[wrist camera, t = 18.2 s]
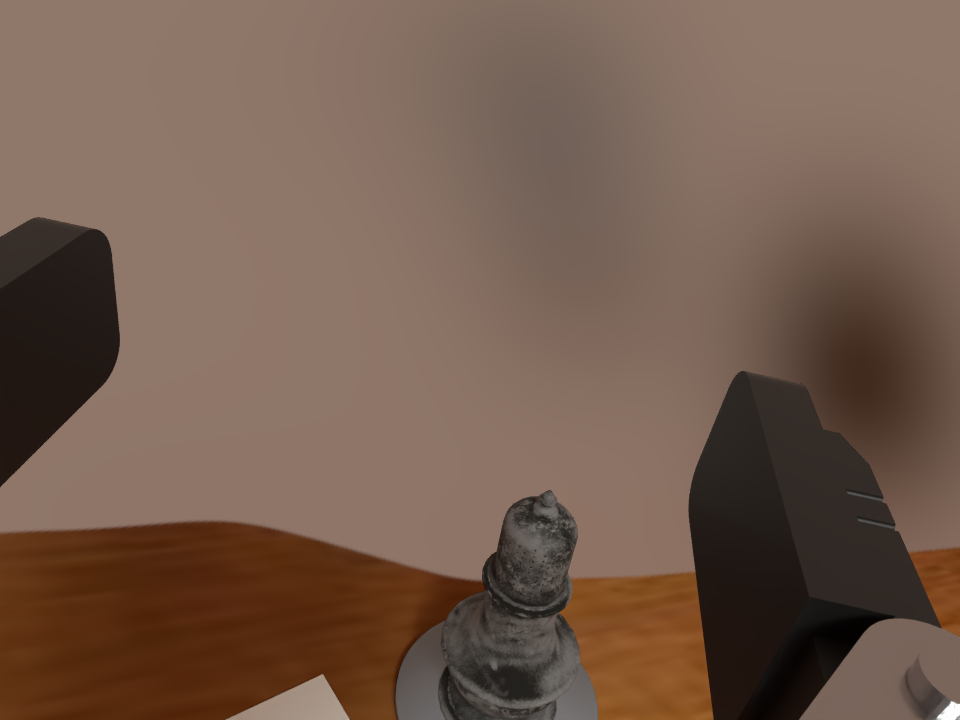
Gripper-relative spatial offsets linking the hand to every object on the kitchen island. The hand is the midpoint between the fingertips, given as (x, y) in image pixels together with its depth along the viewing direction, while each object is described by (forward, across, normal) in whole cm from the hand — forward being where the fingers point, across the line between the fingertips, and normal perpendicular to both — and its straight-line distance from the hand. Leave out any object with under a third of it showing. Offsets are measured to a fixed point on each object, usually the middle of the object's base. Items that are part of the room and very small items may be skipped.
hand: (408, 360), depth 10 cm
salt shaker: (+13, -4, +25) cm, 29 cm away
